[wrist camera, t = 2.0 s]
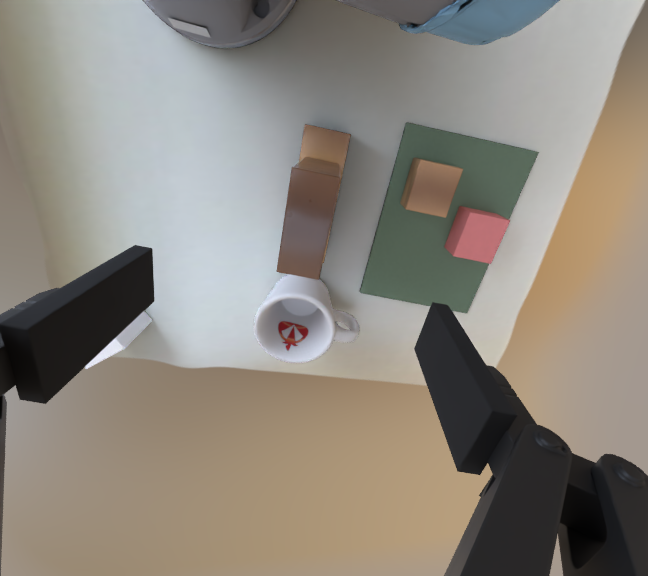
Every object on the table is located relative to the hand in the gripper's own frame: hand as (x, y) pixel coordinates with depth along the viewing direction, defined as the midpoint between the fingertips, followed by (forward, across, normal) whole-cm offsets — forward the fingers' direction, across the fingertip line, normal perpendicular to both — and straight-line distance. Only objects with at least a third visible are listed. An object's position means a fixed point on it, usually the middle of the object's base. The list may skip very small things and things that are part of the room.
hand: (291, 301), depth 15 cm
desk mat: (+21, +13, 0) cm, 25 cm away
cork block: (+21, +10, +4) cm, 24 cm away
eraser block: (+21, +16, +1) cm, 26 cm away
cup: (+21, +2, -11) cm, 24 cm away
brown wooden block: (+21, 0, +1) cm, 21 cm away
